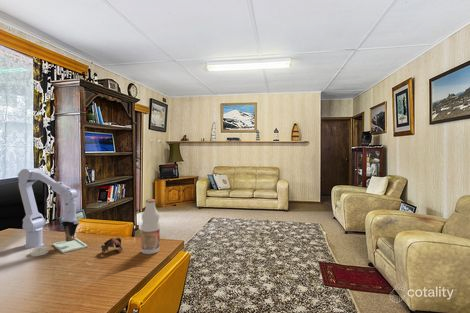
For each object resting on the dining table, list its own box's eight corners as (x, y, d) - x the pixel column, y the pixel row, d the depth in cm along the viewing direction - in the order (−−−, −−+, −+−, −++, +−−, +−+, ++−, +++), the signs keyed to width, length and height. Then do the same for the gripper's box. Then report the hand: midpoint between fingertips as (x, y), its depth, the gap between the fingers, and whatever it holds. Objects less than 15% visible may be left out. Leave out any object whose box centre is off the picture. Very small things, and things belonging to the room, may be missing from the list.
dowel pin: (64, 240, 144) (64, 226, 144) (71, 238, 148) (71, 224, 148) (67, 241, 142) (67, 227, 142) (75, 239, 146) (75, 225, 145)
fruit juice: (137, 251, 139) (138, 199, 139) (153, 246, 146) (153, 197, 146) (147, 256, 133) (147, 202, 133) (163, 251, 140) (163, 199, 140)
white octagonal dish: (29, 254, 134) (29, 249, 134) (45, 250, 140) (45, 245, 140) (32, 258, 129) (32, 253, 129) (49, 254, 135) (49, 249, 135)
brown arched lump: (119, 256, 134) (110, 243, 132) (104, 263, 135) (95, 250, 134) (129, 242, 146) (121, 231, 144) (115, 249, 147) (107, 237, 145)
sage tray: (52, 245, 146) (52, 243, 146) (76, 240, 155) (76, 238, 155) (62, 254, 135) (62, 251, 135) (87, 248, 144) (87, 245, 144)
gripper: (55, 210, 145) (55, 234, 145) (68, 213, 138) (68, 239, 138) (69, 208, 151) (69, 231, 151) (82, 211, 144) (82, 235, 144)
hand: (70, 234), depth 145 cm, fingers closed on dowel pin, 4 cm apart
